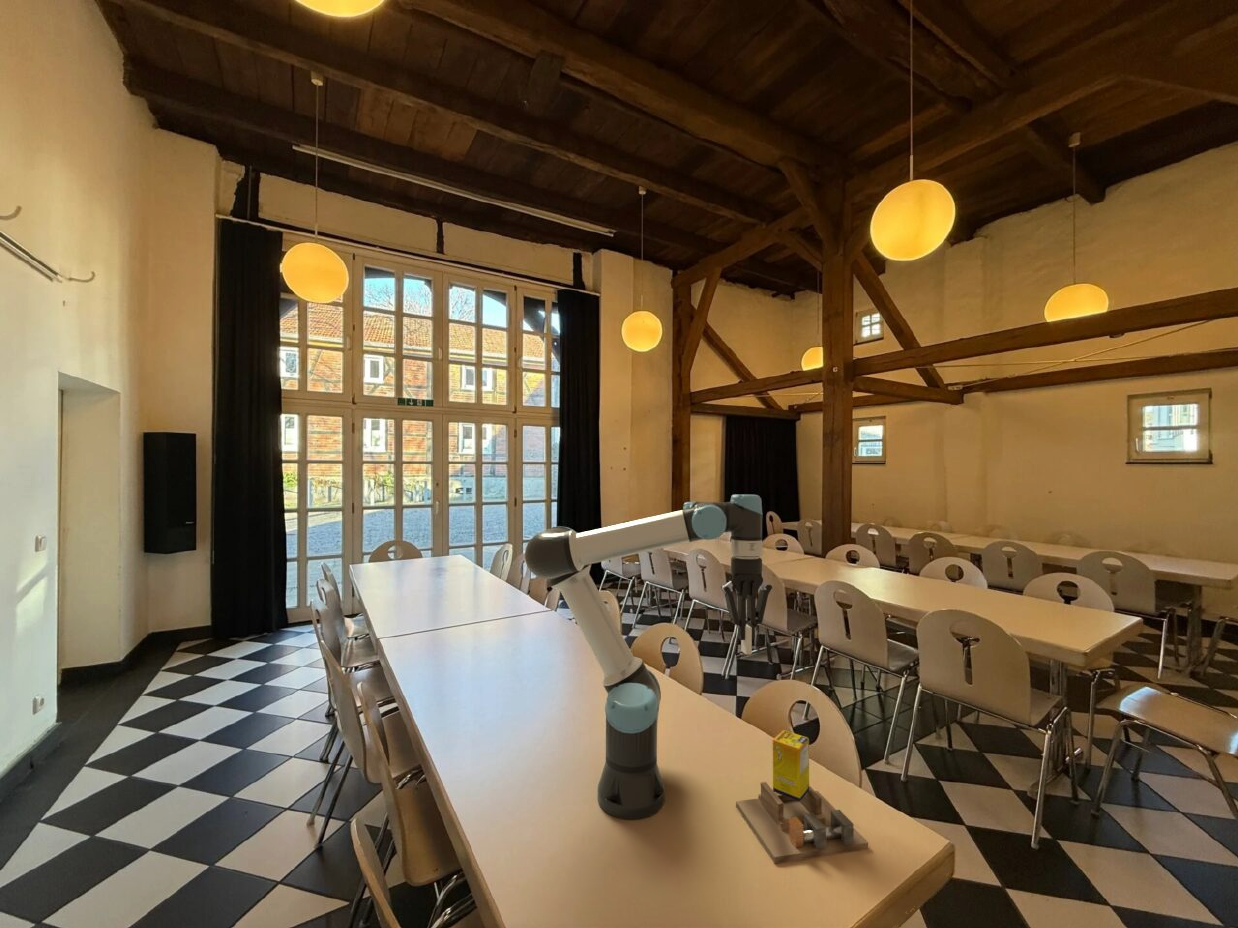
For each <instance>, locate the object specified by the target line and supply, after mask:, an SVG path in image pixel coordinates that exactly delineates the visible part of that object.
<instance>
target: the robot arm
mask: <svg viewBox="0 0 1238 928" xmlns="http://www.w3.org/2000/svg"><path fill="white" fill-rule="evenodd" d="M762 503H763V502H762V498H761V497H760V495H758V494H748V493H747V494H732V495H731V497H730V501H726V502H721V501H720V502H719V501H717V502H716V501H697V500H696V501H686V502H684V504H683V506H682V507H683V509H681V510H677V511H672V512H668V513H662V514H658V515H654V516H649V517H645V518H640V519H636V520H632V521H631V520H630V521H628V522H623V523H617V524H614V525H609V526H605V527H601V528H595V529H592V530H587V531H582V532H577V531H575V530H574V529H572V528H570V527H567V526H561V525H559V526H553V527H551V528H548V529H546V530H544V531H541V532H538V533H537V534H535V535H534V536H533V537H532V538H530V540H529V541H528V542H527V544H526V547H525V551H524V559H525V563H526V566H527V568H528V569H529V571H530V572H531V573H532V574H533V575H534V576H536V577H538V578H541V579H544V580H547V581H548V584H549V585H550V587H551V588H552V589H555V590H558V591H559V592H560V593H561V596H562V597H563V600H564V601H565V603H566V604H567V607H568V608H569V611H570V612H571V614H572V616H573V618H574V619H575V621H576V624H577V625H578V627H579V630H580V631H581V633H582V635H583V637H584V639H585V641H586V642H587V644H588V646H589V648H590V650H591V652H592V653H593V656H594V657H595V660H596V661H597V663H598V665H599V667H600V669H601V670H602V673H603V678H602V682H601V683H602V685H603V688H604V689H605V692H606V693H607V697H606V701H605V708H604V712H605V762H604V766H603V769H602V773H601V775H600V778H599V781H598V785H597V803H598V805H599V806H600V808H601V809H602V810H604V812H605V813H608V814H609V815H611V816H613V817H616V818H620V819H624V820H625V819H626V820H641V819H645V818H649V817H651V816H653V815H655V814H657V813H658V812H659V811H660V810H661V809H662V807H663V806H664V805H665V795H666V793H665V791H666V790H665V785H664V783H663V782H664V781H663V778H662V775H661V772H660V770H659V769H660V768H659V766H658V759H657V758H658V723H659V722H658V721H659V711H660V704H661V697H662V694H661V693H662V691H661V686H660V684H659V681H658V678H657V677H656V675H655V673H653V672H652V671H651V670H650V669H648V668H647V667H646V665H645V663H644V661H643V659H642V658H641V657H637V656H634V655H633V652H632V651H631V649H630V647H629V646H628V644H627V641H626V640H625V637H624V636H623V634H622V633H621V630H620V629H619V627H618V625H617V623H616V621H615V619H614V618H613V615H612V614H611V612H610V610H609V609H608V606H607V604H606V603H605V601H604V599H603V597H602V595H601V593H600V592H599V589H598V587H597V585H596V584H595V582H594V579H593V578H592V576H591V575H590V571H591V567H592V564H598V563H601V562H605V561H609V560H615V559H619V558H624V557H627V556H634V555H639V554H643V553H647V552H651V551H654V550H655V551H656V550H659V549H665V548H669V547H672V546H677V545H682V544H687V543H693V542H698V541H701V540H702V541H703V540H706V541H710V540H716V539H717V538H719V537H721V536H722V535H723V534H724V533H730V554H731V555H732V557H731V558H730V572H731V575H730V577H729V581H728V582H726V584H721V585H720V589H721V591H722V592H723V594H724V598H725V603H726V606H727V610H728V616H729V619H730V622H731V623H732V624H734V625H735V626H737V634H738V635H737V636H738V639H739V640H740V641H741V643H740V649H741V652H742V653H744V654H745V655H746V656H747V655H752V654H753V651H752V649H753V648H752V645H753V643H752V641H753V640H755V638H756V628H757V627H758V625H759V624H763V621H764V616H765V611H766V606H767V603H768V597H769V594H770V593H771V591H772V589H773V586H772V585H771V584H769V583H767V582H765V581H764V577H763V575H762V573H763V559H762V558H761V556H762V555H763V505H762ZM733 589H734V590H735V592H736V598H737V599H736V600H737V601H736V603H737V607H736V603H735V597H734V594H733V591H734V590H733ZM759 589H760V590H759ZM758 591H759V592H758ZM757 593H758V594H757ZM757 597H758V598H757ZM756 600H757V601H756Z"/></svg>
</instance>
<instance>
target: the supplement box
mask: <svg viewBox="0 0 1238 928" xmlns="http://www.w3.org/2000/svg"><path fill="white" fill-rule="evenodd" d="M809 786H810V739H809V737H808V736H804V735H800V734H798V733H795V732H791V731H789V730H785V729H782V730H781V731H780V732H779V733H778V734H777V735H776V736H775V737H774V738H772V790H773V791H774V792H776V793H779V794H781V795H784V796H786V797H789V798H791V799H794V800H796V801H799V802H800V801H801V800H802V798H803V797H804V796H805V794H806V793H807V791H808V790H809Z"/></svg>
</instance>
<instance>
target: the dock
mask: <svg viewBox="0 0 1238 928" xmlns="http://www.w3.org/2000/svg"><path fill="white" fill-rule="evenodd" d="M757 797H758V798H753V799H744V800H736V801H735V808H736V809H737V811H738V813H739V814H740V815H741V817H742V818H743V820H744V821H745V823H746V824H747V825H748V827H749V828H750V830H751V832H752V833H753V834H754V835H755V837H756V838H757V840H758V842H759V843H760V844H761V846H762V848H763V849H764V851H765V852H766V853H767V855H768V856H769V858H770V860H771V861H772V862H773V864H775V865H776V864H779V863H780V864H782V863H787V862H794V861H800V860H806V859H812V858H820V857H826V856H833V855H838V854H843V853H851V852H857V851H864V850H868V849H869V842H868V840H867V839H865V837H864V836H862V835H861V834H860V833H859V832H858V831H857V829H856V828H855V827H854V822H852V821H851V819H849V817H848V816H846V815H845V814H844V813H843V812H842V811H841V809H836V808H835V807H834V805H832V804H831V803H830V802H829V801H828V799H826V798H825V796H824V795H822V794H821V793H820V791H818V790H815V789H814V788H812V786H811V785H809V790H808V791H807V793H806V794H805V796H804V797H803V798H802V800H801V801H800V802H799V801H796V800H794V799H791V798H789V797H786V796H784V795H781V794H779V793H776V792H774V791H773V788H772V787H771V786H770V785H769V784H768V783H767V781H762V782H760V793H759V794H758V796H757ZM794 817H797V818H798V819H799V820H800V822H801V823H802V824H803V831H806V830H814V841H811V842H804V843H803V846H802V847H795V846H794V844H793V843H792V842H791V840H790V839H789V818H794ZM840 825H841V837H837V838H831V839H826V828H827V827H834V826H840Z"/></svg>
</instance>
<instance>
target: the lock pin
mask: <svg viewBox="0 0 1238 928" xmlns="http://www.w3.org/2000/svg"><path fill="white" fill-rule="evenodd" d="M837 837H841V825H840V826H834V827H827V828H826V839H831V838H837ZM789 839H790V840H791V842H792V843H793V844H794V846H795V847H802V846H803V843H804V842H811V841H814V830H806V831H803V824H802V823H801V822H800V820H799V819H798V818H797V817H794V818H789Z"/></svg>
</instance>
